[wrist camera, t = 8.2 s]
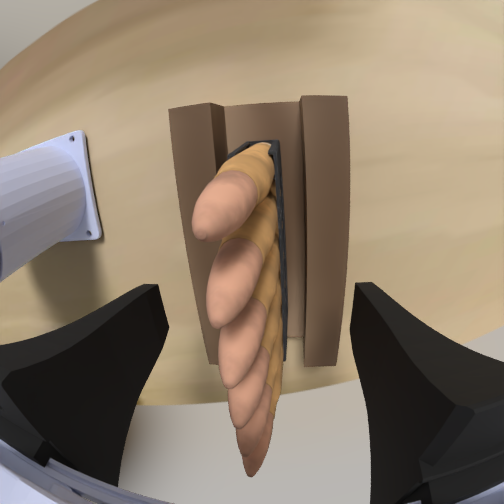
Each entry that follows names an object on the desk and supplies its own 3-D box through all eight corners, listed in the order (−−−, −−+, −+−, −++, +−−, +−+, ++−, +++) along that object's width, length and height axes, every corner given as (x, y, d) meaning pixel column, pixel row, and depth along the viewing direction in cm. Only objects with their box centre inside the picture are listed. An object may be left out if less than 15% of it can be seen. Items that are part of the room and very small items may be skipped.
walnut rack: (221, 327, 22) (209, 364, 18) (194, 112, 16) (168, 109, 12) (330, 327, 21) (335, 365, 17) (333, 103, 15) (347, 96, 11)
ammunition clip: (245, 141, 15) (138, 181, 4) (279, 139, 15) (254, 169, 4) (259, 310, 19) (228, 482, 9) (288, 310, 19) (277, 486, 8)
